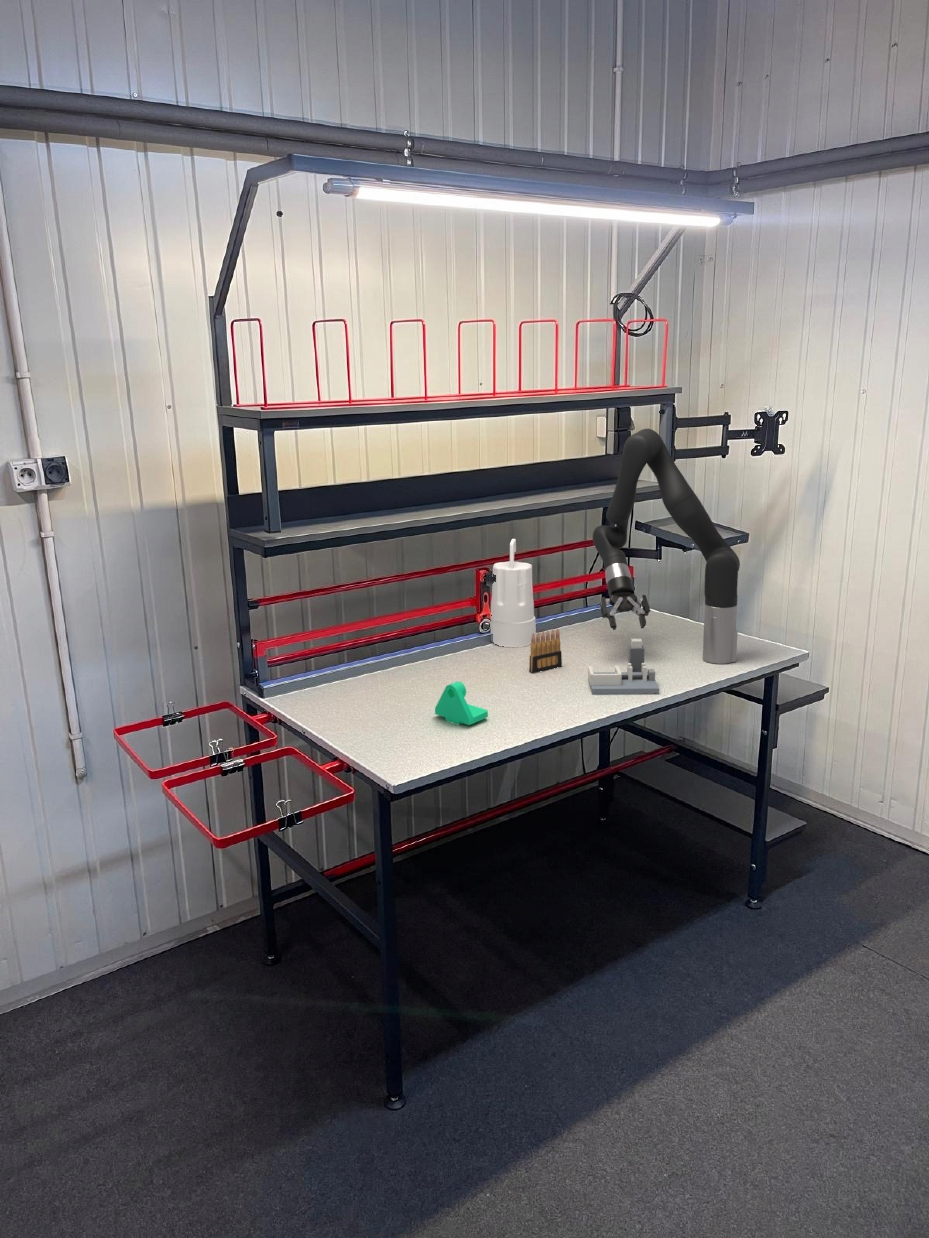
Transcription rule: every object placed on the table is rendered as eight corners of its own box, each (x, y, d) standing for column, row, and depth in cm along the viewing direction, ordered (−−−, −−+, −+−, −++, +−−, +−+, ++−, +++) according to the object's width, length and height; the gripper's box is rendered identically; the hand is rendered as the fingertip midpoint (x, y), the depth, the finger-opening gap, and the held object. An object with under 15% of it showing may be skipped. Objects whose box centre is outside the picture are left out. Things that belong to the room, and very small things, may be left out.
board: (651, 677, 258) (652, 658, 256) (658, 694, 244) (659, 674, 243) (587, 677, 259) (587, 659, 257) (591, 694, 245) (591, 674, 244)
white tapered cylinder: (488, 634, 304) (487, 537, 295) (533, 633, 305) (532, 535, 296) (492, 648, 289) (490, 545, 281) (538, 646, 290) (538, 544, 281)
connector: (641, 670, 263) (642, 638, 261) (643, 675, 260) (644, 641, 257) (628, 670, 264) (628, 638, 261) (629, 675, 260) (630, 642, 257)
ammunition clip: (532, 673, 264) (532, 634, 261) (529, 671, 265) (528, 632, 262) (562, 666, 269) (562, 628, 266) (558, 665, 271) (558, 626, 268)
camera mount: (489, 720, 230) (488, 682, 227) (469, 729, 224) (468, 690, 222) (455, 709, 238) (454, 672, 235) (435, 717, 232) (433, 680, 230)
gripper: (598, 576, 270) (608, 622, 262) (644, 573, 271) (655, 620, 263) (593, 589, 276) (603, 635, 268) (639, 587, 278) (649, 632, 270)
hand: (629, 627), depth 266 cm, fingers open, 8 cm apart
